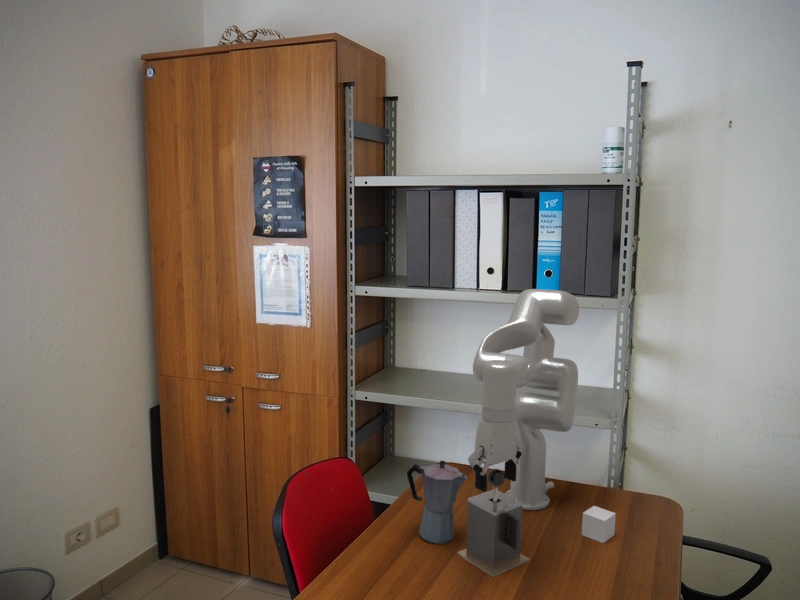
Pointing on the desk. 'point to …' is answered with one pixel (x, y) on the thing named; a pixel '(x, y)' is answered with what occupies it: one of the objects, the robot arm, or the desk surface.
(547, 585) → the desk surface
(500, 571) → the grey slotted box
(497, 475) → the ball knob lever
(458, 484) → the moka pot
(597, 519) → the white cube
